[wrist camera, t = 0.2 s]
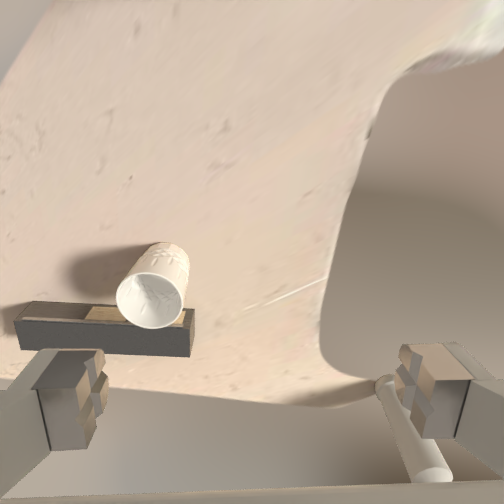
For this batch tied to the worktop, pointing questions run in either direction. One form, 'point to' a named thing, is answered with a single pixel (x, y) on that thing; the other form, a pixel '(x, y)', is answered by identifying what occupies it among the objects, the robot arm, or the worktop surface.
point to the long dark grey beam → (100, 330)
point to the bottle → (411, 438)
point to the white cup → (155, 287)
